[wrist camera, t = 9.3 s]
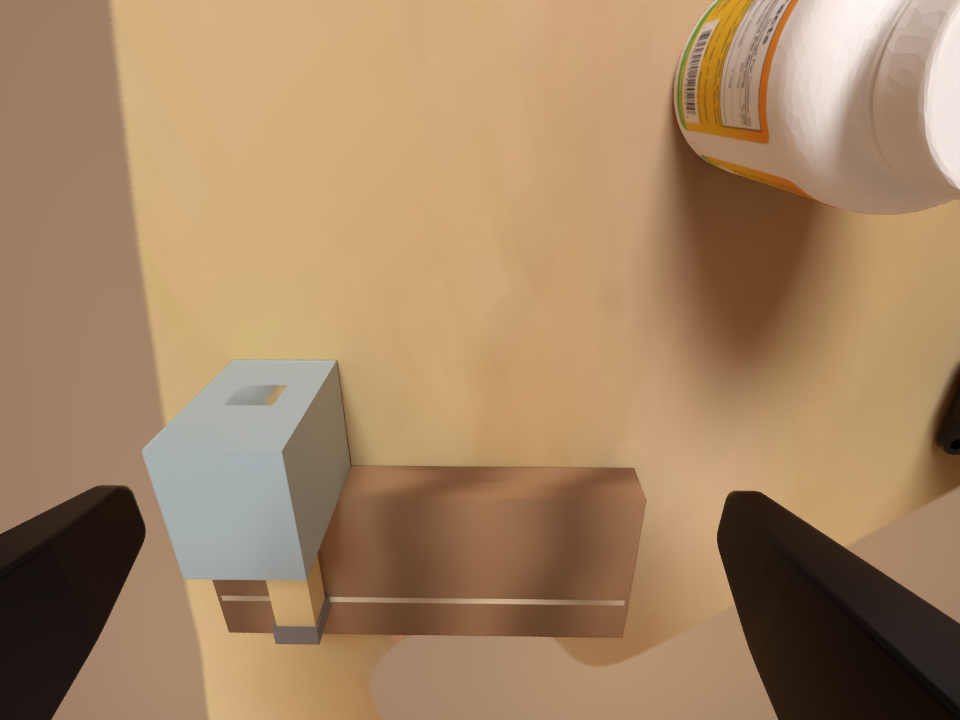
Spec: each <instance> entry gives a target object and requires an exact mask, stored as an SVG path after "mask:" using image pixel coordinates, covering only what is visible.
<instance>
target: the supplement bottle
mask: <svg viewBox="0 0 960 720" xmlns="http://www.w3.org/2000/svg"><path fill="white" fill-rule="evenodd" d="M674 106H675V113H676V117H677V121H678V124H679V127H680V130H681V132H682V134H683V136H684V137H685V139H686V141H687V143H688V144H689V145H690V146H691V148H692V149H693V150H694V151H695V152H696V153H697V154H698V155H699V156H700V157H701V158H702V159H704V160H705V161H707V162H708V163H710V164H711V165H713V166H715V167H717V168H720V169H722V170H724V171H727V172H730V173H732V174H736V175H739V176H742V177H746V178H748V179H751V180H755V181H758V182H761V183H764V184H767V185H770V186H773V187H776V188H779V189H782V190H785V191H788V192H791V193H794V194H797V195H800V196H802V197H805V198H808V199H811V200H814V201H817V202H820V203H822V204H825V205H828V206H832V207H836V208H839V209H843V210H848V211H852V212H857V213H863V214H874V215H892V214H904V213H911V212H917V211H921V210H924V209H928V208H932V207H935V206H938V205H941V204H944V203H947V202H949V201H952V200H954V199H958V200H960V0H716V1H715V2H714V3H713V4H712V5H711V6H710V7H709V8H708V9H707V10H706V12H705V13H704V14H703V15H702V17H701V18H700V19H699V21H698V22H697V24H696V25H695V27H694V29H693V30H692V32H691V34H690V36H689V37H688V39H687V41H686V44H685V46H684V48H683V51H682V53H681V56H680V59H679V62H678V66H677V70H676V75H675V82H674Z"/></svg>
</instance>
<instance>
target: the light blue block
mask: <svg viewBox="0 0 960 720" xmlns="http://www.w3.org/2000/svg"><path fill="white" fill-rule="evenodd" d="M141 451H142V454H143V457H144V460H145V463H146V466H147V469H148V472H149V475H150V478H151V481H152V484H153V488H154V491H155V494H156V496H157V500H158V503H159V505H160V508H161V512H162V515H163V518H164V521H165V524H166V527H167V530H168V533H169V536H170V539H171V542H172V545H173V548H174V551H175V554H176V557H177V560H178V563H179V567H180V570H181V573H182V576H183V579H211V580H266V583H267V587H268V592H269V596H270V600H271V604H272V608H273V613H274V617H275V621H276V623H275V626H274V628H273V634H274V638H275V643H276V644H320V641H321V638H322V634H323V631H324V628H325V625H326V622H327V619H328V616H329V612H330V609H331V604H330V598H329V594H324V588H323V583H322V577H321V571H320V566H319V560H318V555H317V553H318V550H319V548H320V545H321V543H322V540H323V538H324V535H325V532H326V530H327V527H328V525H329V522H330V520H331V517H332V514H333V512H334V509H335V507H336V504H337V501H338V499H339V496H340V494H341V491H342V489H343V486H344V483H345V481H346V478H347V476H348V473H349V471H350V468H351V465H350V457H349V450H348V442H347V434H346V427H345V419H344V411H343V404H342V396H341V388H340V381H339V373H338V365H337V360H233V361H232V362H231V363H230V364H228V365H227V366H226V367H225V368H224V369H223V370H222V371H221V372H220V373H219V374H218V375H217V376H216V377H215V378H214V379H213V380H212V381H211V382H210V383H209V384H208V385H207V386H206V387H205V388H204V389H203V390H202V391H201V392H200V393H199V394H198V395H197V396H196V397H195V398H194V399H193V400H192V401H191V402H190V403H189V404H188V405H187V406H186V407H185V408H184V409H183V410H182V411H181V412H180V413H179V414H178V415H177V416H176V417H175V418H174V419H173V420H172V421H171V422H170V423H169V424H168V425H166V426H165V427H164V428H163V429H162V430H161V431H160V432H159V433H158V434H157V435H156V436H155V437H154V438H153V439H152V440H151V442H149V443H148V444H147V445H146V446H145V447H144V448H143V449H142V450H141Z"/></svg>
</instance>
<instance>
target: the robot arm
mask: <svg viewBox="0 0 960 720" xmlns="http://www.w3.org/2000/svg"><path fill="white" fill-rule="evenodd" d="M954 440H955V441H954ZM936 443H937V446H939V447H940V448H941V449H942V450H944V451H945V452H946V453H948V454H952V455H960V389H959V391H958V393H957V395H956V397H955V400H954V402H953V404H952V406H951V408H950V411H949V413H948V415H947V417H946V419H945V422H944V424H943V426H942V428H941V430H940V433H939V435H938V437H937V441H936ZM145 531H146V530H145V524H144V521H143V518H142V516H141V513H140V510H139V507H138V505H137V502H136V499H135V497H134V494H133V492H132V490H131V489H130V488H129V487H127V486H123V485H100V486H96V487H94V488H91V489H89V490H87V491H85V492H83V493H81V494H80V495H77V496H75V497H74V498H71V499H70V500H67V501H65V502H64V503H62V504H59V505H58V506H56V507H53V508H52V509H50V510H48V511H46V512H44V513H42V514H40V515H38V516H36V517H34V518H32V519H30V520H28V521H26V522H24V523H22V524H20V525H18V526H16V527H14V528H12V529H10V530H8V531H6V532H4V533H2V534H0V720H51V719H52V718H53V716H54V714H55V712H56V711H57V709H58V707H59V706H60V704H61V702H62V700H63V699H64V697H65V695H66V693H67V692H68V690H69V689H70V687H71V685H72V683H73V682H74V680H75V678H76V677H77V674H78V673H79V671H80V670H81V668H82V666H83V665H84V663H85V661H86V659H87V658H88V656H89V654H90V652H91V650H92V649H93V647H94V645H95V643H96V641H97V640H98V638H99V635H100V634H101V632H102V630H103V628H104V626H105V624H106V622H107V620H108V618H109V615H110V613H111V611H112V609H113V607H114V605H115V603H116V600H117V598H118V596H119V594H120V592H121V589H122V587H123V585H124V583H125V581H126V579H127V577H128V575H129V572H130V570H131V568H132V566H133V564H134V562H135V559H136V557H137V555H138V553H139V551H140V549H141V547H142V544H143V542H144V539H145V533H146V532H145ZM717 543H718V548H719V552H720V555H721V559H722V562H723V565H724V569H725V572H726V575H727V579H728V582H729V585H730V588H731V592H732V595H733V598H734V602H735V605H736V608H737V612H738V615H739V618H740V621H741V625H742V628H743V632H744V634H745V637H746V641H747V644H748V647H749V650H750V652H751V655H752V657H753V660H754V662H755V665H756V667H757V670H758V672H759V674H760V677H761V679H762V682H763V684H764V686H765V689H766V691H767V694H768V696H769V699H770V701H771V703H772V705H773V708H774V710H775V713H776V715H777V718H778V720H960V624H959V623H958V622H956V621H955V620H953V619H952V618H950V617H949V616H947V615H946V614H944V613H943V612H941V611H940V610H938V609H937V608H935V607H934V606H932V605H931V604H929V603H927V602H926V601H924V600H923V599H922V598H920V597H918V596H917V595H916V594H914V593H913V592H911V591H909V590H908V589H906V588H905V587H903V586H902V585H900V584H899V583H897V582H896V581H894V580H893V579H891V578H890V577H888V576H886V575H885V574H884V573H882V572H881V571H879V570H878V569H876V568H875V567H873V566H871V565H870V564H869V563H867V562H866V561H864V560H863V559H861V558H860V557H858V556H856V555H855V554H854V553H852V552H850V551H849V550H847V549H846V548H844V547H843V546H841V545H840V544H838V543H837V542H835V541H834V540H832V539H831V538H829V537H828V536H826V535H825V534H823V533H822V532H820V531H819V530H817V529H816V528H814V527H813V526H811V525H810V524H808V523H807V522H805V521H804V520H802V519H801V518H799V517H798V516H796V515H795V514H793V513H792V512H790V511H789V510H787V509H786V508H784V507H782V506H781V505H779V504H778V503H776V502H775V501H773V500H772V499H770V498H769V497H767V496H766V495H764V494H763V493H761V492H758V491H732V492H730V493H729V494H728V496H727V498H726V501H725V505H724V508H723V512H722V516H721V520H720V524H719V528H718V532H717Z"/></svg>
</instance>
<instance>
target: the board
mask: <svg viewBox="0 0 960 720" xmlns="http://www.w3.org/2000/svg"><path fill="white" fill-rule="evenodd" d="M645 506H646V498H645V496H644V493H643V490H642V488H641V485H640V482H639V480H638V477H637V475H636V472H635V469H634V468H565V467H437V466H351V468H350V471H349V473H348V476H347V478H346V481H345V483H344V486H343V489H342V491H341V494H340V496H339V499H338V501H337V504H336V507H335V509H334V512H333V514H332V517H331V520H330V522H329V525H328V527H327V530H326V532H325V535H324V538H323V540H322V543H321V545H320V548H319V550H318V553H317V555H318V560H319V566H320V571H321V577H322V583H323V588H324V594H329V598H330V604H331V609H330V612H329V616H328V619H327V622H326V625H325V628H324V631H323V634H390V635H465V636H466V635H467V636H468V635H471V636H539V637H540V636H541V637H542V636H543V637H614V638H623V633H624V627H625V621H626V615H627V610H628V604H629V598H630V592H631V586H632V581H633V575H634V569H635V563H636V558H637V552H638V546H639V540H640V534H641V529H642V523H643V517H644V511H645ZM213 583H214V586H215V590H216V593H217V596H218V599H219V602H220V605H221V608H222V611H223V615H224V618H225V621H226V624H227V627H228V630H229V632H241V633H273V628H274V626H275V623H276V621H275V617H274V613H273V608H272V604H271V600H270V596H269V592H268V587H267V583H266V580H213Z"/></svg>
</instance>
